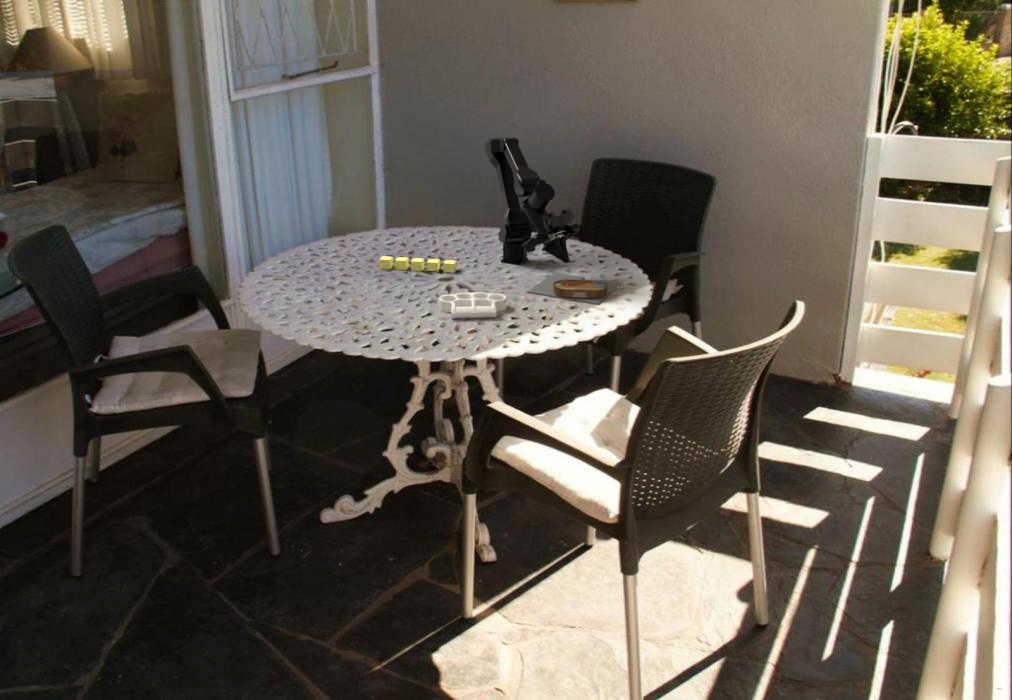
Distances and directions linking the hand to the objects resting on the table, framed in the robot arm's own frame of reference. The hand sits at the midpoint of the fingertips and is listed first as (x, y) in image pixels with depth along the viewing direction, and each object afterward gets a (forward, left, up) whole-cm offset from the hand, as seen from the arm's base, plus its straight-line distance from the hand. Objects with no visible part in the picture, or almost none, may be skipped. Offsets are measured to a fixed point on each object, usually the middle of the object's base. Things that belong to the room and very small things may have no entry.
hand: (567, 262), depth 283 cm
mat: (+3, -2, -7) cm, 8 cm away
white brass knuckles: (-14, -30, -7) cm, 34 cm away
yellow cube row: (-46, -5, -7) cm, 47 cm away
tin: (+5, -2, -5) cm, 8 cm away
